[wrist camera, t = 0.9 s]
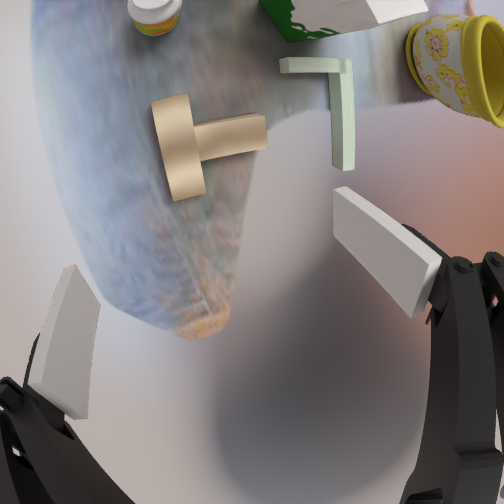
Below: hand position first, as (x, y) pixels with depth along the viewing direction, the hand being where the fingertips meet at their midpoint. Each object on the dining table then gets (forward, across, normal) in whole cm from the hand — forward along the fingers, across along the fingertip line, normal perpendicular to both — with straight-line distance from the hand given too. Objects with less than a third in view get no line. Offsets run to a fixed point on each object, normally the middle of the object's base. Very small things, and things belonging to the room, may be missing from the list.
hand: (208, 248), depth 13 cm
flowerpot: (+24, +43, +11) cm, 50 cm away
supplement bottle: (+24, 0, +18) cm, 30 cm away
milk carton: (+24, +17, +16) cm, 34 cm away
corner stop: (+24, +18, +1) cm, 30 cm away
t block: (+24, +3, +1) cm, 24 cm away
